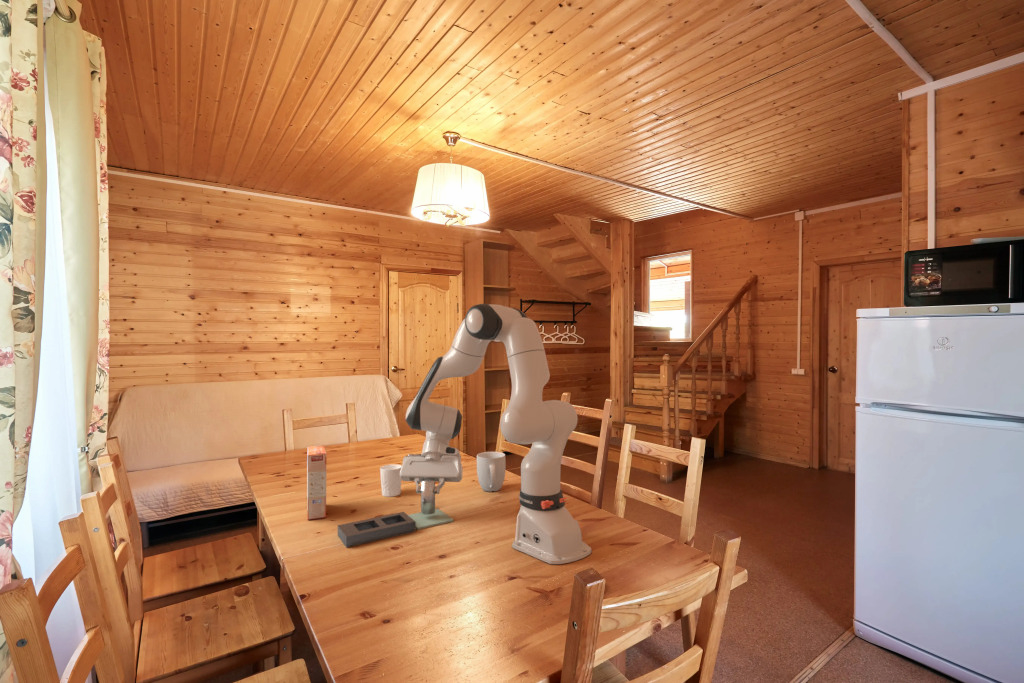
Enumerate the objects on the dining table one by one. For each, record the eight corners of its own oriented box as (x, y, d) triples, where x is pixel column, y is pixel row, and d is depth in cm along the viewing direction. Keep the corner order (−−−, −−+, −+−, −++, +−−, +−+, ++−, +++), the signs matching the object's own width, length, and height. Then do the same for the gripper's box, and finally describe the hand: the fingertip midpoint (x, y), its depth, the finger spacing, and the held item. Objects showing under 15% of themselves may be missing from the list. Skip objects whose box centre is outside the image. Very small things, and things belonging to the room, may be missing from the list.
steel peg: (437, 512, 154) (437, 481, 154) (424, 515, 151) (424, 483, 151) (431, 508, 158) (431, 477, 157) (419, 511, 155) (418, 480, 155)
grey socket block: (415, 531, 145) (415, 521, 145) (346, 547, 134) (346, 536, 134) (403, 521, 153) (403, 511, 153) (337, 535, 142) (337, 525, 142)
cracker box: (327, 518, 157) (326, 452, 157) (307, 520, 154) (306, 454, 154) (326, 504, 170) (325, 444, 170) (307, 507, 167) (306, 446, 167)
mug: (508, 496, 177) (508, 460, 177) (478, 497, 175) (478, 461, 175) (503, 484, 192) (503, 451, 192) (475, 485, 190) (475, 452, 190)
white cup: (399, 497, 177) (399, 469, 177) (377, 497, 177) (377, 469, 177) (404, 490, 185) (404, 464, 185) (383, 490, 185) (383, 464, 185)
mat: (453, 521, 153) (453, 519, 153) (417, 529, 146) (417, 527, 146) (437, 510, 163) (437, 508, 163) (403, 517, 156) (403, 515, 156)
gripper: (402, 448, 162) (392, 487, 153) (463, 449, 160) (457, 488, 151) (406, 459, 167) (397, 496, 157) (465, 459, 165) (460, 498, 155)
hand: (427, 492), depth 154 cm, fingers closed on steel peg, 4 cm apart
